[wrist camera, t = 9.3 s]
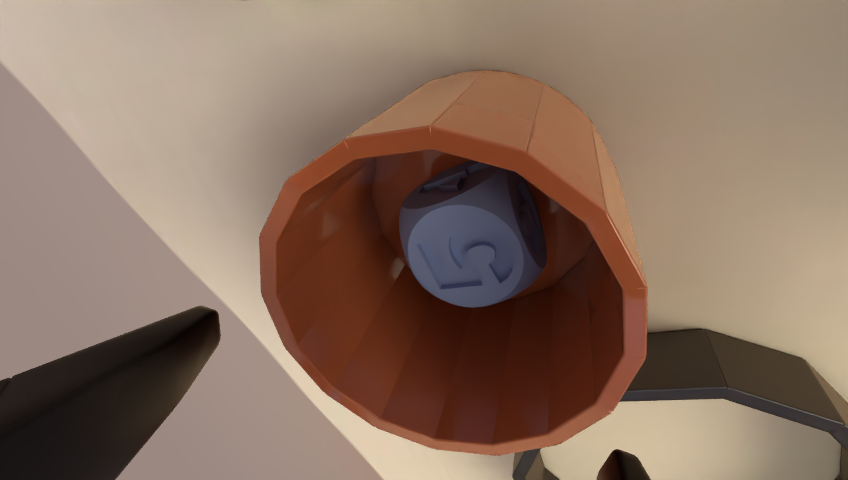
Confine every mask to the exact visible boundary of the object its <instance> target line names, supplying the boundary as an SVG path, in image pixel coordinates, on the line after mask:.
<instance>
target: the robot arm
mask: <svg viewBox="0 0 848 480" xmlns="http://www.w3.org/2000/svg"><path fill="white" fill-rule="evenodd" d="M220 336H221V335H220V324H219V315H218V312H217V311H216V310H213V309H210V308H208V307H204V306H197V307H194V308H192V309H189V310H186V311H184V312H181V313H178V314H176V315H173V316H170V317H168V318H165V319H162V320H160V321H157V322H154V323H152V324H149V325H147V326H144V327H141V328H139V329H136V330H133V331H131V332H128V333H125V334H123V335H120V336H118V337H115V338H112V339H110V340H107V341H104V342H102V343H99V344H96V345H94V346H91V347H88V348H86V349H83V350H81V351H78V352H75V353H73V354H70V355H67V356H65V357H62V358H60V359H57V360H54V361H52V362H49V363H46V364H44V365H41V366H39V367H36V368H33V369H30V370H28V371H25V372H22V373H20V374H17V375H15V376H13V377H12V378H7V379H4V380H1V381H0V480H115V479H116V478H117V477H118V476H119V475H120V473H121V472H122V471H123V470H124V468H125V467H126V466H127V465H128V463H129V462H130V461H131V460H132V459H133V458H134V456H135V455H136V454H137V453H138V452H139V450H140V449H141V448H142V447H143V445H144V444H145V443H146V442H147V441H148V439H149V438H150V437H151V436H152V435H153V434H154V432H155V431H156V430H157V429H158V427H159V426H160V425H161V424H162V423H163V422H164V420H165V419H166V418H167V417H168V416H169V414H170V413H171V412H172V411H173V409H174V408H175V407H176V406H177V404H178V403H179V402H180V400H181V399H182V398H183V396H184V395H185V393H186V392H187V390H188V389H189V388H190V386H191V385H192V383H193V382H194V380H195V379H196V377H197V376H198V374H199V373H200V371H201V369H202V368H203V367H204V365H205V364H206V362H207V361H208V359H209V358H210V356H211V355H212V353H213V352H214V351H215V349H216V348H217V346H218V344H219V341H220ZM597 480H651V479H650V478H649V476H648V474H647V473H646V471H645V469H644V467H643V466H642V464H641V462H640V461H639V459H638V458H637V457H636V456H635V455H633V454H630V453H627V452H624V451H621V450H618V449H616V450H614V451H613V452H612V453H611V454H610V456H609V457H608V459H607V460H606V462H605V463H604V465H603V466H602V468H601V469H600V471H599V473H598V476H597Z"/></svg>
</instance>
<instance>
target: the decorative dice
mask: <svg viewBox="0 0 848 480" xmlns="http://www.w3.org/2000/svg"><path fill="white" fill-rule="evenodd" d="M399 231H400V238H401V243H402V247H403V251H404V254H405V257H406V260H407V262H408V265H409V267H410V269H411V271H412V273H413V275H414V276H415V278H416V279H417V281H418V282H419V283H420V284H421V286H422V287H423V288H424V289H426V290H427V291H428V292H430V293H431V294H432V295H434V296H436V297H437V298H439V299H441V300H443V301H446V302H448V303H450V304H454V305H457V306H462V307H470V308H474V307H484V306H489V305H493V304H496V303H499V302H502V301H504V300H507V299H509V298H511V297H513V296H515V295H517V294H518V293H520V292H522V291H523V290H525V289H526V288H527V287H529V286H530V285H531V284H532V283H533V282H534V281H535V280H536V279H537V278H538V277H539V275H540V274H541V273H542V271H543V269H544V268H545V266H546V262H547V248H546V241H545V235H544V230H543V226H542V222H541V218H540V215H539V212H538V208H537V205H536V202H535V199H534V197H533V194H532V192H531V189H530V187H529V185H528V182H527V180H526V179H524V178H523V177H522V176H520V175H519V174H518V173H516V172H514V171H511V170H507V169H503V168H500V167H496V166H492V165H488V164H485V163H481V162H477V161H473V160H470V161H467V162H464V163H462V164H459V165H457V166H454V167H452V168H450V169H448V170H446V171H444V172H442V173H440V174H438V175H436V176H434V177H432V178H431V179H429V180H427V181H426V182H424V183H423V184H421V185H420V186H418V187H417V188H416V189H414V190H413V191H412V192H411V193H410V194H409V195H408V196H407V197H406V198H405V200H404V201H403V204H402V207H401V211H400V216H399Z"/></svg>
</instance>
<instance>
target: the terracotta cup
mask: <svg viewBox="0 0 848 480" xmlns="http://www.w3.org/2000/svg"><path fill="white" fill-rule="evenodd" d="M470 160H473V161H477V162H481V163H485V164H488V165H492V166H496V167H500V168H503V169H507V170H511V171H514V172H516V173H518V174H519V175H520V176H522V177H523V178H524V179H526V180H527V182H528V185H529V187H530V189H531V192H532V194H533V197H534V199H535V202H536V205H537V208H538V212H539V215H540V218H541V222H542V226H543V230H544V235H545V241H546V248H547V262H546V266H545V268H544V269H543V271H542V273H541V274H540V275H539V277H538V278H537V279H536V280H535V281H534V282H533V283H532V284H531V285H530V286H529V287H527V288H526V289H525V290H523V291H522V292H520V293H518V294H517V295H515V296H513V297H511V298H509V299H507V300H504V301H502V302H499V303H496V304H493V305H489V306H484V307H474V308H470V307H462V306H457V305H454V304H450V303H448V302H446V301H443V300H441V299H439V298H437V297H436V296H434V295H432V294H431V293H430V292H428V291H427V290H426V289H424V288H423V287H422V286H421V284H420V283H419V282H418V281H417V279H416V278H415V276H414V275H413V273H412V271H411V269H410V267H409V265H408V262H407V260H406V257H405V254H404V251H403V247H402V243H401V238H400V231H399V216H400V211H401V207H402V204H403V201H404V200H405V198H406V197H407V196H408V195H409V194H410V193H411V192H412V191H413V190H414V189H416V188H417V187H418V186H420V185H421V184H423V183H424V182H426V181H427V180H429V179H431V178H432V177H434V176H436V175H438V174H440V173H442V172H444V171H446V170H448V169H450V168H452V167H454V166H457V165H459V164H462V163H464V162H467V161H470ZM259 240H260V275H261V293H262V297H263V299H264V302H265V304H266V306H267V309H268V311H269V313H270V315H271V318H272V320H273V322H274V325H275V327H276V329H277V331H278V334H279V336H280V338H281V340H282V343H283V345H284V347H285V348H286V350H287V351H288V352H289V353H290V354H291V355H292V357H293V358H294V359H295V360H296V361H297V362H298V363H299V365H300V366H301V367H302V368H303V369H304V370H305V371H306V373H307V374H308V375H309V376H310V377H311V378H312V379H313V381H314V382H315V383H316V384H317V385H318V386H319V387H320V389H321V390H322V391H323V392H325V394H327V395H328V396H330V397H331V398H333V399H334V400H336V401H337V402H338V403H340V404H341V405H343V406H344V407H346V408H347V409H349V410H350V411H352V412H353V413H355V414H356V415H358V416H359V417H361V418H362V419H364V420H365V421H367V422H368V423H370V424H371V425H372V426H374V427H376V428H378V429H381V430H384V431H386V432H389V433H392V434H394V435H397V436H400V437H402V438H405V439H408V440H411V441H413V442H416V443H419V444H421V445H424V446H427V447H429V448H432V449H437V450H446V451H455V452H465V453H474V454H484V455H493V456H496V455H498V456H499V455H505V454H510V453H516V452H521V451H527V450H532V449H538V448H543V447H549V446H554V445H558V444H561V443H562V442H564V441H566V440H567V439H569V438H571V437H572V436H574V435H576V434H577V433H579V432H581V431H582V430H584V429H586V428H587V427H589V426H591V425H592V424H594V423H596V422H597V421H599V420H601V419H602V418H604V417H606V416H607V415H609V414H611V412H612V411H614V409H615V407H616V406H617V404H618V403H619V401H620V399H621V398H622V396H623V395H624V393H625V391H626V390H627V388H628V387H629V385H630V383H631V382H632V380H633V378H634V377H635V375H636V374H637V372H638V370H639V369H640V367H641V366H642V364H643V362H644V361H645V359H646V355H647V297H648V287H647V283H646V279H645V276H644V272H643V268H642V264H641V261H640V257H639V253H638V249H637V246H636V242H635V238H634V235H633V231H632V227H631V223H630V220H629V216H628V212H627V208H626V205H625V201H624V197H623V194H622V190H621V186H620V182H619V179H618V175H617V171H616V167H615V165H614V163H613V162H612V160H611V158H610V156H609V154H608V151H607V149H606V147H605V144H604V142H603V140H602V138H601V136H600V135H599V133H598V131H597V130H596V128H595V127H594V125H593V123H592V121H591V120H590V119H589V118H588V117H587V116H586V115H585V114H584V113H583V112H582V111H581V110H580V109H579V108H578V107H577V106H576V105H575V104H574V103H573V102H571V101H570V100H569V99H568V98H567V97H565V96H564V95H562V94H561V93H559V92H558V91H556V90H555V89H553V88H552V87H549V86H547V85H545V84H543V83H541V82H539V81H537V80H535V79H531V78H528V77H525V76H522V75H519V74H514V73H508V72H502V71H489V70H487V71H486V70H478V71H469V72H461V73H457V74H453V75H450V76H446V77H443V78H440V79H434V80H431V81H429V82H427V83H426V84H424V85H423V86H421V87H420V88H419V89H417V90H416V91H414V92H413V93H411V94H410V95H408V96H407V97H405V98H404V99H402V100H401V101H399V102H398V103H396V104H395V105H393V106H392V107H390V108H389V109H387V110H386V111H384V112H383V113H381V114H380V115H378V116H377V117H375V118H374V119H372V120H371V121H369V122H368V123H367V124H365V125H364V126H362V127H361V128H359V129H358V130H356V131H355V132H353V133H352V134H350V135H349V136H347V137H346V138H344V139H343V140H341V141H340V142H338V143H337V144H336V145H334V146H333V147H331V148H330V149H329V150H327V151H326V152H324V153H323V154H321V155H320V156H319V157H317V158H316V159H314V160H313V161H311V162H310V163H309V164H307V165H306V166H304V167H303V168H301V169H300V170H299V171H297V172H296V173H294V174H293V175H292V176H290V177H289V178H288V179H287V180H286V181H285V183H284V185H283V187H282V189H281V191H280V193H279V196H278V198H277V200H276V202H275V204H274V206H273V208H272V210H271V212H270V214H269V216H268V218H267V221H266V223H265V225H264V227H263V229H262V231H261V233H260V237H259Z"/></svg>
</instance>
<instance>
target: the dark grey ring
mask: <svg viewBox="0 0 848 480" xmlns="http://www.w3.org/2000/svg"><path fill="white" fill-rule="evenodd" d="M691 399H726V400H729V401H732V402H735V403H738V404H742V405H745V406H748V407H751V408H754V409H757V410H760V411H763V412H767V413H770V414H773V415H776V416H779V417H782V418H785V419H788V420H791V421H795V422H798V423H801V424H804V425H807V426H810V427H813V428H816V429H820V430H823V431H826V432H829V433H830V434H831V435H832V436H833V437H834V438H835V439H836V440H837V441H838V442H839V443H840V444H841V445H842V456H841V476H840V477H839V478H837V479H836V480H848V403H847V402H846V401H845V400H844V399H843V398H842V397H841V396H840V395H839V394H838V393H837V392H836V391H835V390H834V389H833V388H832V387H831V386H830V385H829V384H828V383H827V382H826V381H825V380H824V379H823V378H822V377H821V376H820V375H819V374H818V373H817V372H816V371H815V370H814V369H813V368H812V367H811V366H810V365H809V364H808V363H807V362H806V361H805V360H804V359H802V358H799V357H796V356H792V355H789V354H786V353H782V352H779V351H776V350H772V349H769V348H766V347H762V346H759V345H756V344H752V343H749V342H746V341H742V340H739V339H736V338H732V337H729V336H726V335H722V334H719V333H716V332H712V331H709V330H706V329H705V330H703V329H698V330H686V331H674V332H662V333H649V334H647V355H646V359H645V361H644V362H643V364H642V366H641V367H640V369H639V370H638V372H637V374H636V375H635V377H634V378H633V380H632V382H631V383H630V385H629V387H628V388H627V390H626V391H625V393H624V395H623V396H622V398H621V399H620V401H619V402H621V401H656V400H691ZM540 449H541V448H538V449H532V450H527V451H521V452H516V453H515V456H514V465H513V474H512V477H513V479H514V480H559V479H557V478H556V477H555V476H554V475H553V474H552V473H550V472H549V471H548V470H547V469H546V468H545V467H544V464H543V461H542V458H541V455H540V452H539V451H540Z"/></svg>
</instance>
